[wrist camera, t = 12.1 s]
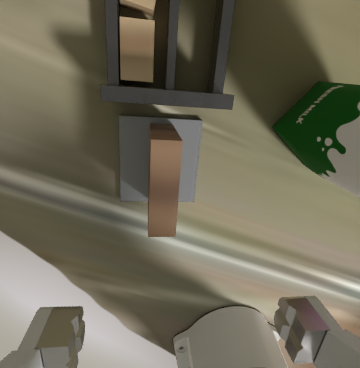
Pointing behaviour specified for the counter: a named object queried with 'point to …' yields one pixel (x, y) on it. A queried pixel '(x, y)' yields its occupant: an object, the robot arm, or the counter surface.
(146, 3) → the oak offcut
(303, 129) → the milk carton
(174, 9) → the rack
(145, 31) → the oak offcut
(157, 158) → the brown flat block
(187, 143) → the grey mat
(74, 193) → the counter surface
